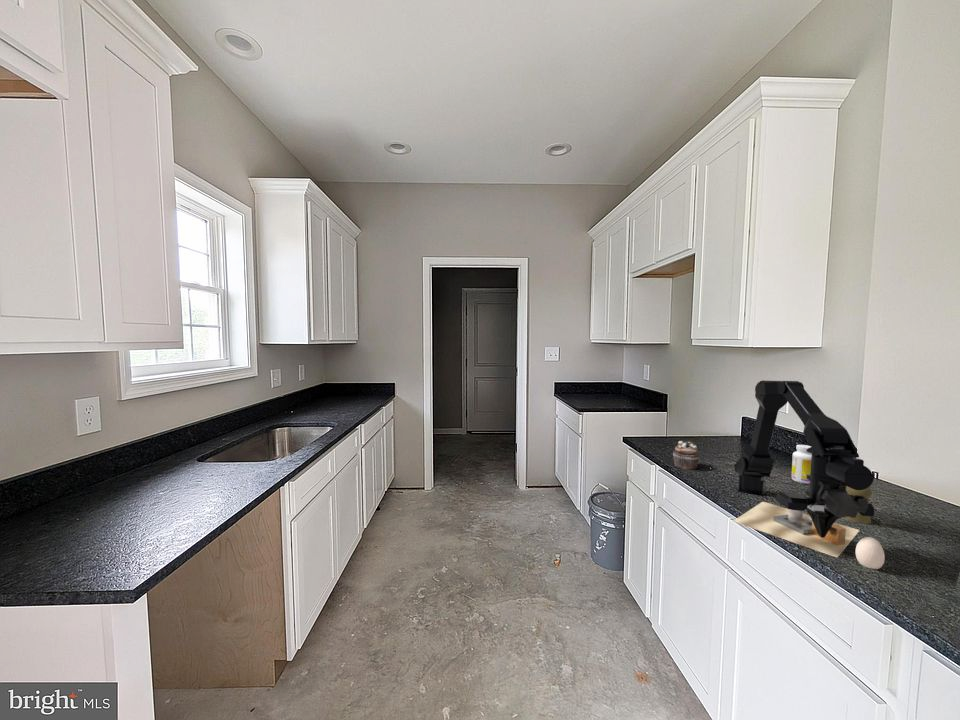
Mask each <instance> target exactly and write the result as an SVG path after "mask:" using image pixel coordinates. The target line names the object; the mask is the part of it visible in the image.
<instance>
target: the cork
mask: <svg viewBox="0 0 960 720" xmlns="http://www.w3.org/2000/svg"><path fill="white" fill-rule="evenodd" d="M845 487H846V489H845V490H846V493H847V494H849V495H853V496H854V495H859V496H864V497H865V498H866V499H868V502H869V503H870V498H871V497H872V494H873V491H872V489H871V488H870V487H868V488H867V489H864V490H855V489H852V488H850V487H848V486H845ZM871 517H872V516H862V515H860V514H859V513H858V514H857V516H856V518H851V517H843V518H844V519H846V520H847V521H850V522H853V523H856V524H863V525H871V524H872V518H871Z"/></svg>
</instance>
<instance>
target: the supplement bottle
mask: <svg viewBox="0 0 960 720" xmlns="http://www.w3.org/2000/svg"><path fill="white" fill-rule="evenodd" d="M795 447H796V448H795V449H796V451H794V452H793V453H792V456H791V457H792V458H791V459H792V462H791V479H792V480H793V481H794V482H797V483H800V484H804V485H810V480H808V479H807V475H810V473H811V457H812V453H809V452H807V449H808V448H810V447H811V445H806V444H796V446H795Z"/></svg>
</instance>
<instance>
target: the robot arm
mask: <svg viewBox="0 0 960 720" xmlns="http://www.w3.org/2000/svg"><path fill="white" fill-rule="evenodd" d="M754 388H755V389H754V392H755V393H754V396H755V399H756V402H757V403H758V410H757V415H756V419H755V423H754V427H753V433H752V436H751V440H750V444H749V445H747V447H746V448H745V449H743V451H742V452H741V456H740V458H739V459H737V460H736V462H735V463H734V472H736V473H737V474H738V477H739V478H738V481H739V482H738V488H737V489H736V492H739V493H744V494H748V495H753V496H760V497H761V496H763V495H765V494H766V487H767V481H766V480H765V478H770V476H771V473H772V471H773V470H774V468H773V466H774V463H775V459H774V457H773V456H772V455H771V453H770V446H771V442H772V438H773V435H774V430H775V426H776V422H777V419H778V413H779V410H781V409H782V408H783V407H784V406H785V405H787V404H789V406H790V407H791V408H792V410H793V411H794V413H796V415H797V417H798V418H799V419H800V421H801V422H802V424H803V425H804V426H803V435H804V437H805V438H806V439H805V440H806V441H807V442H808V444H809V446H811V447H810V448H808V449H807V452H809V453H812V457H811V473H810V475H807V479H808V480H810V484H809V490H805V495H806V496H807V497H804V496H802V495H800V494H799V493H797V492H795V491H786V490H785V491H783V490H779V491H778V492H777V493H776V497H775V498H776V499H775V501H776V502H778V503H779V504H780V505H782V506H783V507H784V508H787V509H790V510H799V511H802V512H804V511H806V512H807V513H808V515H810V517H811V519H812V521H813V523H814V526H815V528H816V530H817V532H818V535H819V536H820V537H822V538H824V537H825V536H826V534H827V533H828V531H829V529H830V528H831V526H832V525H833V523H836V521H837V520H840V519H841V518H844V517H851V518H856V516H857V514H858V513H859V514H860V515H862V516H871V517H873V518H874V517H875V516H876V508H875V506H874V505H873V503H871V502H870V501H869V502H868V499H866V498H865V497H864V496H859V495H854V496H853V495H849V494H848V493H847V491H846V487H847V486H848V487H850V488H852V489H855V490H864V489H867V488H868V487H869V488H870V487H871V486H872V484H873V482H874V478H875V477H874V475H873V472H872V471H871V469H869V467H867V466H866V465H864V464H865V463H864V459H861V458H860V455H859V452H858V451H859V450H858V448H857V446H856V445H855V444H854V441H853V440H852V438H851V436H850V433H849V432H848V430H847V429H846V428H845V427H844V426H843V425H842V424H841V423H840V422H839V421H837V420H835V419H834V418H832V417H829V416H827V415H826V414H825V413H824V412H823V411H822V409H821V408H820V407H819V406H818V405H817V403H816V402H815V401H814V400H813V398H812V397H811V396H810V394H809V393H808V392H807V391H806V389H805V386H804V384H803V382H802V381H798V380H759V381H758V382H757V384H756V385H755V387H754Z"/></svg>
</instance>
